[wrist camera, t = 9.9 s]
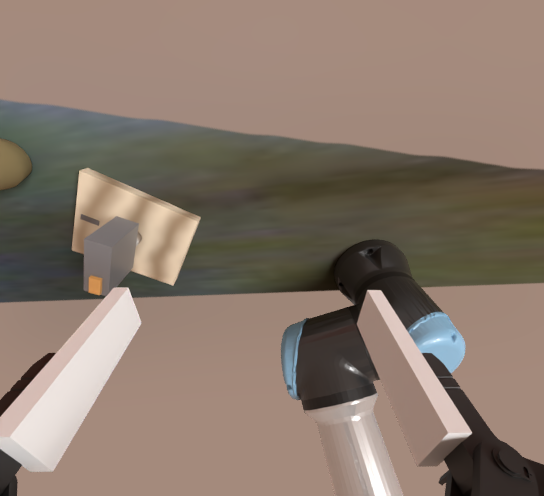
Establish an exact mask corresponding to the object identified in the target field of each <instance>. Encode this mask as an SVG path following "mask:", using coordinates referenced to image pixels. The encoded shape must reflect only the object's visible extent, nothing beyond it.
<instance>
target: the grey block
mask: <svg viewBox="0 0 544 496" xmlns="http://www.w3.org/2000/svg"><path fill="white" fill-rule="evenodd" d="M138 227H139V223H136V222H133V221H130V220H127V219H124V218H121V217H118V216H116V217H115V218H113V219H112V220H110V221H109V222H107V223H106V224H105V225H103V226H102V227H100V228H99V229H97V230H96V231H95V232H93V233H92V234H90V235H89V236H87V237H86V238H85V239H84V291H88V292H89V293H93V294H97V295H104V296H107V295H108V294H109V293H110V291H111V290H112V289H113V288H116V287H117V286H118V285H119V283H120V282H121V281H122V280H123V279H124V278H125V276H126V275H127V274H128V273H129V272H130V271H131V269H132V268H133V264H134V257H135V250H136V242H137V235H138Z"/></svg>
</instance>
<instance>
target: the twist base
mask: <svg viewBox="0 0 544 496" xmlns="http://www.w3.org/2000/svg"><path fill="white" fill-rule="evenodd" d="M116 216H118V217H121V218H124V219H127V220H130V221H133V222H136V223H139V227H138V235H137V242H136V250H135V257H134V264H133V268H132V269H131V271H133V272H136V273H139V274H142V275H145V276H148V277H150V278H153V279H156V280H159V281H162V282H165V283H168V284H170V285H174V283H175V281H176V280H177V277H178V274H179V272H180V269H181V267H182V264H183V262H184V259H185V257H186V254H187V252H188V249H189V247H190V244H191V241H192V239H193V236H194V234H195V231H196V229H197V226H198V224H199V221H200V219H201V217H199V216H196V215H194V214H192V213H189V212H187V211H185V210H183V209H180V208H178V207H176V206H174V205H171V204H169V203H167V202H164V201H162V200H160V199H158V198H155V197H153V196H151V195H148V194H146V193H144V192H142V191H139V190H137V189H135V188H132V187H130V186H128V185H126V184H123V183H121V182H119V181H116V180H114V179H112V178H110V177H107V176H105V175H103V174H101V173H98V172H96V171H94V170H91V169H89V168H86V169H83V170H79V180H78V191H77V201H76V211H75V222H74V232H73V242H72V250H73V251H76V252H79V253H82V254H84V239H85V238H86V237H87V236H89V235H90V234H92V233H93V232H95V231H96V230H97V229H99V228H100V227H102V226H103V225H105V224H106V223H107V222H109V221H110V220H112V219H113V218H115V217H116Z"/></svg>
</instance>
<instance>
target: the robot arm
mask: <svg viewBox="0 0 544 496" xmlns="http://www.w3.org/2000/svg"><path fill="white" fill-rule="evenodd" d="M334 278H335V281H336V283H337V286H338V288H339V290H340V291H341V292H342V293H343V294H344V295H345V296H346V297H347V298H348V299H349V300H350V301H351V302H352V303H353V304H354V306H350V307H346V308H343V309H340V310H337V311H334V312H330V313H327V314H324V315H320V316H317V317H314V318H310V319H309V318H306V319H304V320H303V321H301V322H298V323H295V324H293V325H290V326H289V327H288V328H287V329H286V330H285V332H284V334H283V338H282V343H281V361H282V370H283V376H284V381H285V383H286V384H287V390H288V393H289V394H290V396H291V397H292V398H293V399H296V400H301V401H302V405H303V409H304V413H305V414H307V415H308V416H309V417H310V418H312V419H313V420H314V421H315V422H316V423H317V426H318V429H319V433H320V438H321V442H322V446H323V450H324V454H325V457H326V462H327V466H328V469H329V474H330V478H331V482H332V486H333V490H334V494H335V496H403V493H402V490H401V487H400V485H399V482H398V479H397V476H396V474H395V471H394V468H393V465H392V463H391V460H390V457H389V455H388V452H387V449H386V446H385V443H384V441H383V438H382V435H381V432H380V430H379V427H378V424H377V421H376V419H375V416H374V413H373V407H374V404H375V401H376V399H377V396H378V394H377V392H376V389H375V386H374V384H373V381H375V380H381V383H382V385H383V387H384V389H385V392H386V394H387V396H388V399H389V401H390V404H391V406H392V409H393V411H394V413H395V415H396V418H397V420H398V422H399V425H400V427H401V430H402V432H403V434H404V437H405V439H406V441H407V444H408V446H409V449H410V451H411V453H412V456H413V458H414V460H415V463H416V465H417V466H438V465H439V464H440V463H441V462H442V461H443V460H444V461H445V463H446V464H447V466H448V468H449V471H447V472H446V473H445V474H444V475H443V476H442V477H441V478H440V481H439V483H440V484H441V485H443V484H444V483H446V490H445V496H544V465H543V464H540V463H537V462H534V461H531V460H529V459H526V458H524V457H522V456H521V455H520V454H519V453H518V452H517V451H516V450H515V449H513V448H512V447H510V446H509V445H508V444H507V443H505V442H502V441H500V440H499V439H498V438H497V437H496V436H495V435H494V434H493V433H492V431H491V430H490V429H489V427H488V426H487V425H486V423H485V422H484V420H483V419H482V417H481V416H480V415H479V413H478V412H477V410H476V409H475V408H474V406H473V405H472V403H471V402H470V400H469V399H468V398H467V396H466V395H465V393H464V392H463V391H462V390H461V389H460V386H459V385H458V383H457V382H456V380H455V379H453V377H452V375H451V373H452V372H453V371H454V370H455V369H456V368H457V367H458V365H459V364H460V363H461V361H462V359H463V357H464V354H465V342H464V339H463V337H462V336H461V334H460V333H459V332H458V330H457V329H456V328H455V327H454V325H453V324H452V323H451V321H450V319H449V317H448V316H447V315H446V314H445V313H443V312H442V310H441V309H440V308H439V307H438V306H437V305H436V304H435V303H434V301H433V300H432V299H431V298H430V297H429V296H428V295H427V294H426V293H425V291H424V290H423V289H422V288H421V287H420V286H419V285H418V284H417V283H416V281H415V280H414V279H413V278H412V275H411V272H410V268H409V265H408V262H407V259H406V257H405V255H404V254H403V253H402V252H401V251H400V250H399V249H398V247H396V246H395V245H394V244H392V243H390V242H387V241H384V240H369V241H365V242H361V243H359V244H356V245H354V246H353V247H351V248H350V249H348V250H347V251H346V252H345V253H344V254H343V255H342V256H341V257H340V258H339V260H338V262H337V263H336V266H335V270H334ZM140 325H141V320H140V318H139V315H138V312H137V309H136V307H135V304H134V302H133V299H132V296H131V293H130V291H129V288H113V289H112V290H111V291H110V293H109V294H108V295H107V296H106V297H105V298H104V299H103V301H102V302H101V303H100V304H99V305H98V306H97V307H96V309H95V310H94V311H93V312H92V313H91V314H90V315H89V317H88V318H87V319H86V320H85V321H84V322H83V324H82V325H81V326H80V327H79V328H78V329H77V330H76V331H75V332H74V334H73V335H72V336H71V337H70V338H69V339H68V340H67V342H66V343H65V344H64V345H63V346H62V347H61V348H60V350H59V351H58V352H57V353H48V354H47V355H45V356H44V357H43V358H41V359H40V360H39V361H37V362H36V363H35V364H33V365H32V366H31V367H30V369H29V370H28V371H27V372H26V373H25V374H24V375H23V376H22V377H21V380H19V381H17V383H16V384H15V385H14V386H13V387H12V388H11V390H10V391H9V392H7V393H6V394H5V395H4V396H3V398H2V399H1V400H0V496H17V478H16V476H15V474H16V473H17V471H18V470H19V469H20V467H21V466H23V467H25V468H26V469H27V470H29V471H31V472H49V471H50V472H51V471H53V470H54V469H55V467H56V465H57V463H58V462H59V460H60V459H61V457H62V455H63V454H64V452H65V450H66V449H67V447H68V445H69V444H70V442H71V440H72V439H73V437H74V435H75V433H76V432H77V430H78V428H79V427H80V425H81V423H82V422H83V420H84V418H85V417H86V415H87V414H88V412H89V410H90V408H91V407H92V405H93V403H94V402H95V400H96V398H97V397H98V395H99V393H100V392H101V390H102V388H103V387H104V385H105V383H106V382H107V380H108V378H109V377H110V375H111V373H112V371H113V370H114V368H115V366H116V365H117V363H118V362H119V360H120V358H121V357H122V355H123V353H124V352H125V350H126V348H127V347H128V345H129V343H130V342H131V340H132V338H133V337H134V335H135V333H136V332H137V330H138V328H139V326H140Z"/></svg>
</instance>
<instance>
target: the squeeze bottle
mask: <svg viewBox="0 0 544 496" xmlns="http://www.w3.org/2000/svg"><path fill="white" fill-rule="evenodd" d="M31 171H32V163H31V161H30V158H29V156H28V155H27V154H26V152H25V151H24V150H23V149H22V148H20V147H19V146H18V145H17V144H15V143H13V142H11V141H9V140H5V139H0V190H4V189H9V188H12V187H15V186H17V185H18V184H19V183H20V182H21V181H22V180H23V179H25V178H26V177H27V176H28V175H29V174H30V172H31Z"/></svg>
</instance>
